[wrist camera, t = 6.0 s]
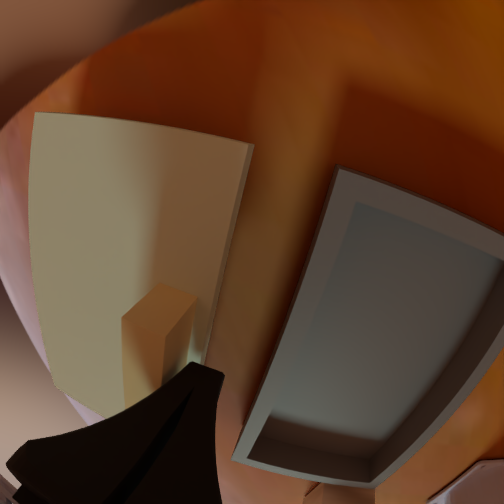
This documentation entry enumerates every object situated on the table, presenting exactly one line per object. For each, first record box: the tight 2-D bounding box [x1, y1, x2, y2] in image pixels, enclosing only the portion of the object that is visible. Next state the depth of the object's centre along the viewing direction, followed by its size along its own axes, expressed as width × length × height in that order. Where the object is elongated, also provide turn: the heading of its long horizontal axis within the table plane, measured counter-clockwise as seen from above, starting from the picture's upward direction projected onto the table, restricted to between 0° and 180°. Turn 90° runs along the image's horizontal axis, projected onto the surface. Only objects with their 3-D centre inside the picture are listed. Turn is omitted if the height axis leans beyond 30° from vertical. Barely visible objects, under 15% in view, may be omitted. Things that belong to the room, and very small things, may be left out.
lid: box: [28, 112, 255, 419], centre depth 11 cm, size 10×17×3 cm, turn 167°
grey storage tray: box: [231, 164, 504, 489], centre depth 13 cm, size 10×17×2 cm, turn 167°
